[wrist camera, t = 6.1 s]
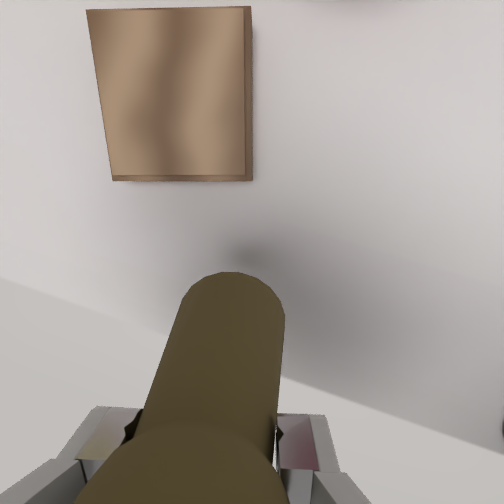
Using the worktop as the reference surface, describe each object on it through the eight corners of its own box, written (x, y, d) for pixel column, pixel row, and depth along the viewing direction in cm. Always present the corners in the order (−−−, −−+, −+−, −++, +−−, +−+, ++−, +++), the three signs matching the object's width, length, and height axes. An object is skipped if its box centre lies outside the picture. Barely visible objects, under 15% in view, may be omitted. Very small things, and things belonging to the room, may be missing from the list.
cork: (191, 370, 16) (42, 779, 5) (166, 279, 14) (-138, 611, 3) (291, 360, 15) (355, 794, 5) (278, 264, 13) (331, 602, 3)
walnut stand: (252, 30, 21) (250, -2, 17) (252, 180, 25) (251, 181, 21) (110, 32, 22) (78, 2, 18) (130, 180, 25) (107, 181, 21)
